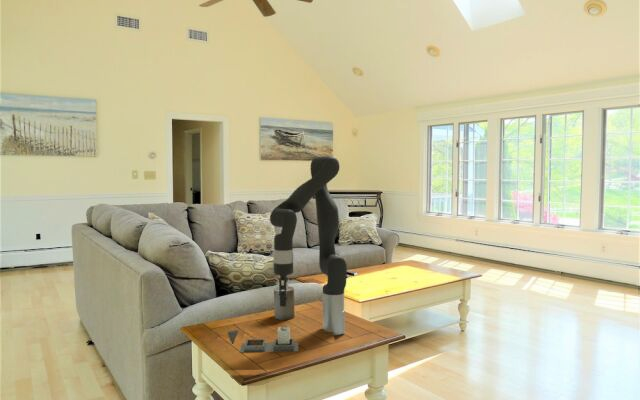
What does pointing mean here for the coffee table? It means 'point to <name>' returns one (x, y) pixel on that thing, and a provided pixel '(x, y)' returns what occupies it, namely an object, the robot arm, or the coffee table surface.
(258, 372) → the coffee table surface
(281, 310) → the pillar candle
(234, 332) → the smartphone
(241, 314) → the coffee table surface
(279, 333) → the metal block with knob
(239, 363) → the coffee table surface
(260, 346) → the block holder
